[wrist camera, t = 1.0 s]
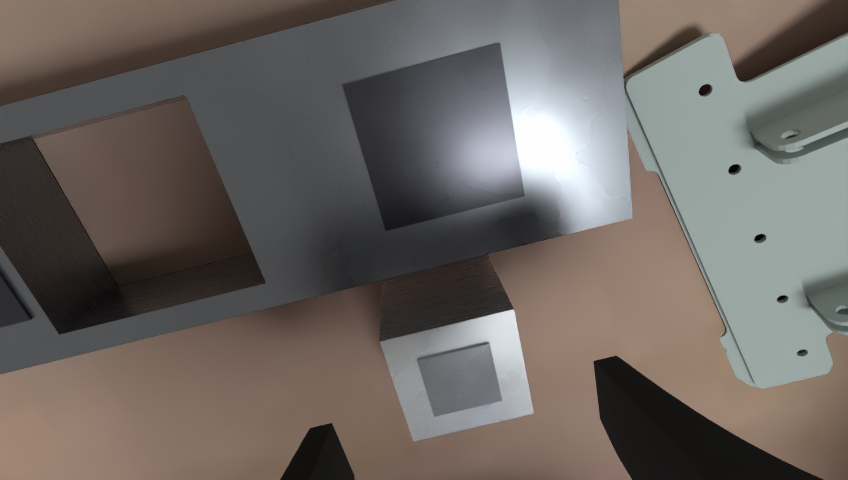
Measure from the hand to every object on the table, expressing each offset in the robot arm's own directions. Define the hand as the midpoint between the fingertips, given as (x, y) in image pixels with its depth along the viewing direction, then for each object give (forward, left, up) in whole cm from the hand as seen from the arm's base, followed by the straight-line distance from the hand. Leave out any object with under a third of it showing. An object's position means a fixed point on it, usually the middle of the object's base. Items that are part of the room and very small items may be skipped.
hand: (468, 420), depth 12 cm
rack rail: (+7, +5, -6) cm, 10 cm away
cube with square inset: (0, 0, -6) cm, 6 cm away
